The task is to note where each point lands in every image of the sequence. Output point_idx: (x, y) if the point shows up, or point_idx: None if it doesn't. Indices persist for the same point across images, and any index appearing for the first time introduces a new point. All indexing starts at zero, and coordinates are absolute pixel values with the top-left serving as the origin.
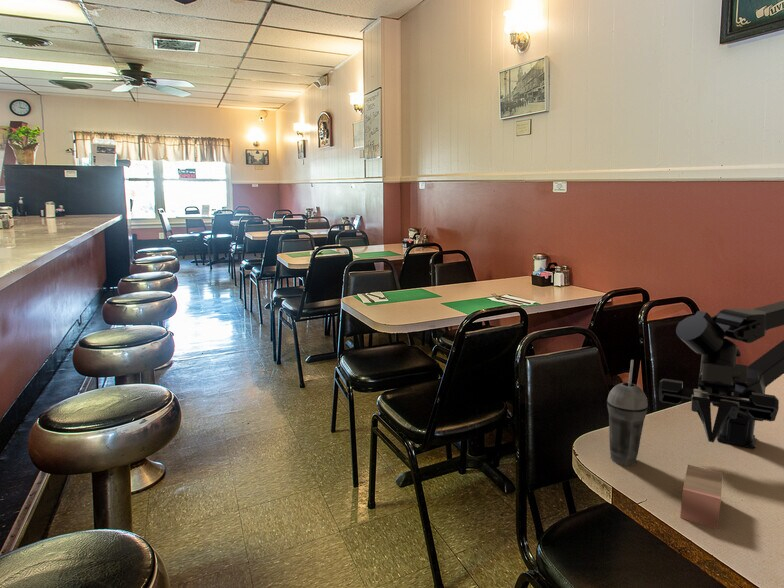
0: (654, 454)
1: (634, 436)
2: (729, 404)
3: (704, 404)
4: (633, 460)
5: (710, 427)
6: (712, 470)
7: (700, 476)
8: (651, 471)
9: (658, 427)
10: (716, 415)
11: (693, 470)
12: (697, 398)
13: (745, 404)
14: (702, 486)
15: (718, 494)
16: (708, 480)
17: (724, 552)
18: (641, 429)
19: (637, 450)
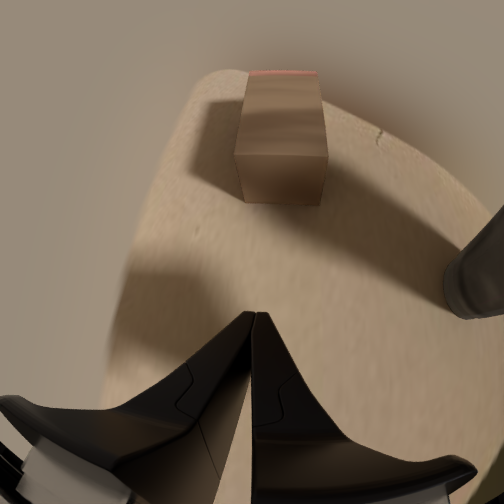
0: (412, 378)
1: (494, 217)
2: (45, 418)
3: (323, 460)
4: (451, 266)
5: (258, 345)
6: (260, 153)
7: (290, 116)
8: (404, 262)
9: None
10: (205, 407)
11: (309, 133)
12: (433, 470)
13: (4, 477)
14: (283, 87)
15: (252, 79)
16: (271, 109)
17: None
18: (502, 233)
19: (462, 263)
